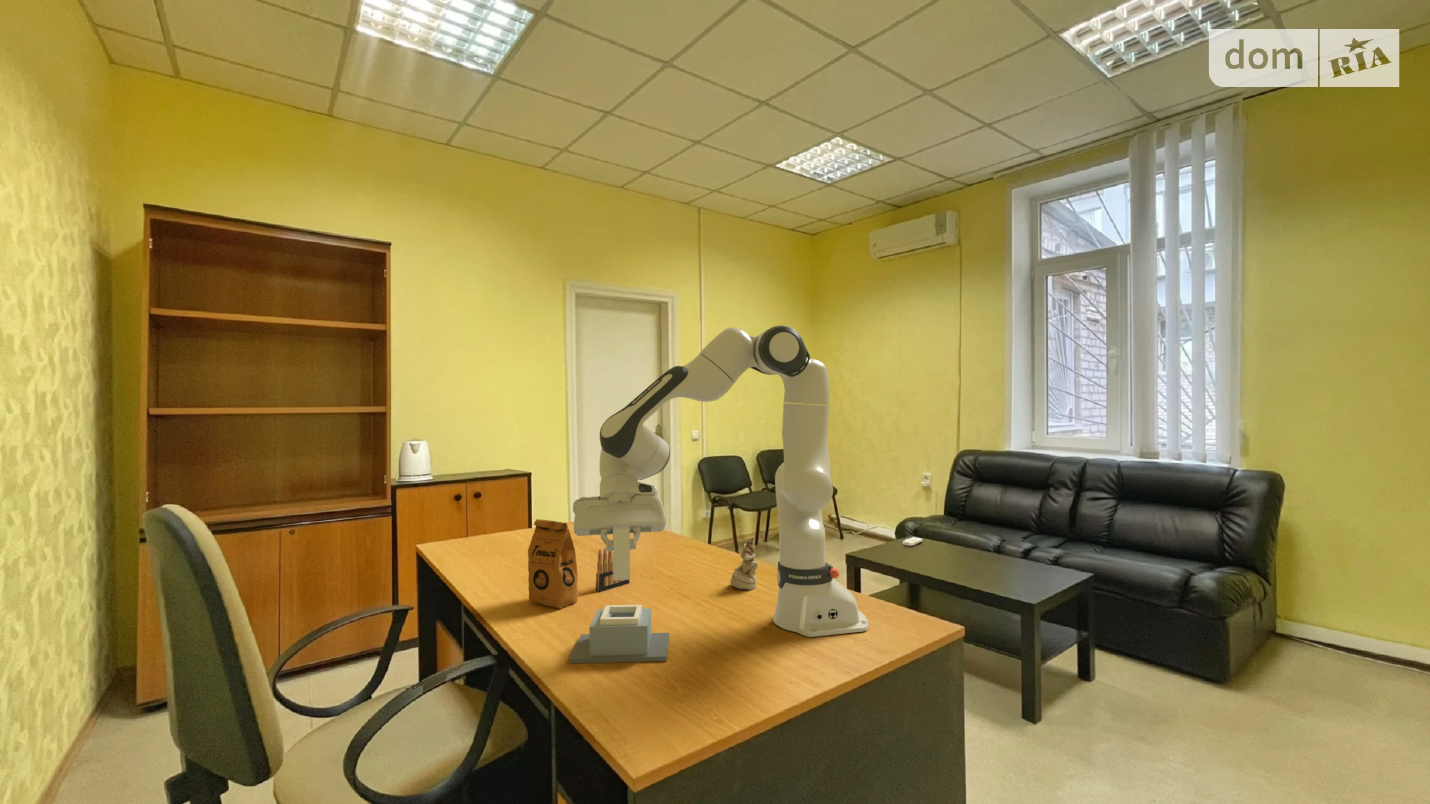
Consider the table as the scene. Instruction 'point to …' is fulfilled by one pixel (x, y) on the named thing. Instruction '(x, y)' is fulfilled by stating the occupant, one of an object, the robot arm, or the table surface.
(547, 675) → the table surface
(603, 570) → the ammunition clip
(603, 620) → the frame
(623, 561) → the shaft
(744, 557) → the figurine
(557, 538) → the coffee package
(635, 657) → the block
